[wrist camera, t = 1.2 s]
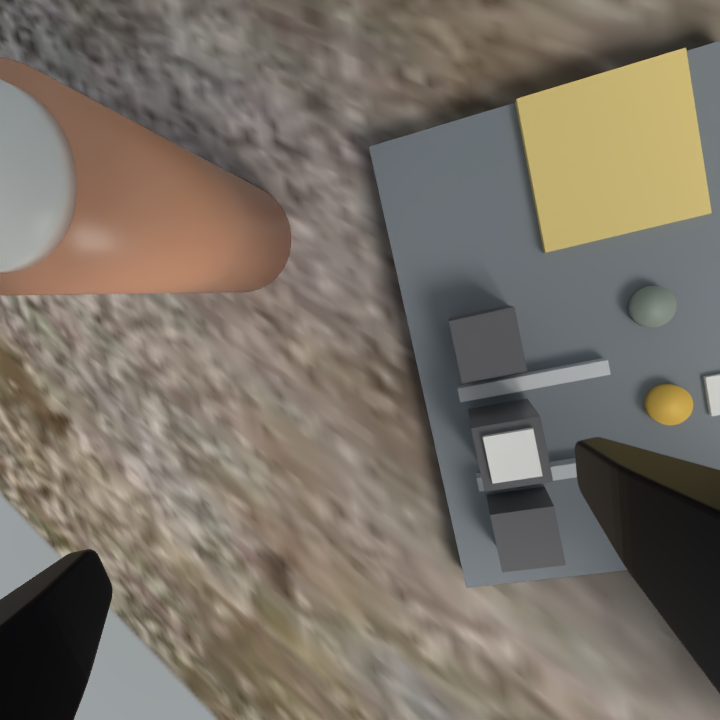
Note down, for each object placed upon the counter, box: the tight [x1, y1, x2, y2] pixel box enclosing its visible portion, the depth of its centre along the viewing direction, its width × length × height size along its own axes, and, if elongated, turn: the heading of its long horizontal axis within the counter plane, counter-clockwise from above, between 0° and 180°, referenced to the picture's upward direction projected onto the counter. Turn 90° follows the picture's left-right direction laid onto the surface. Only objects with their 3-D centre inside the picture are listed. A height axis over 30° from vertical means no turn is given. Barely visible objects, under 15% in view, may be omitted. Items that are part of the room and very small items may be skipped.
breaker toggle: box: [468, 399, 553, 492], centre depth 20 cm, size 2×2×3 cm
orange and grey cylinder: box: [0, 58, 291, 295], centre depth 17 cm, size 5×5×14 cm
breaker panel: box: [369, 41, 720, 588], centre depth 20 cm, size 20×14×3 cm
